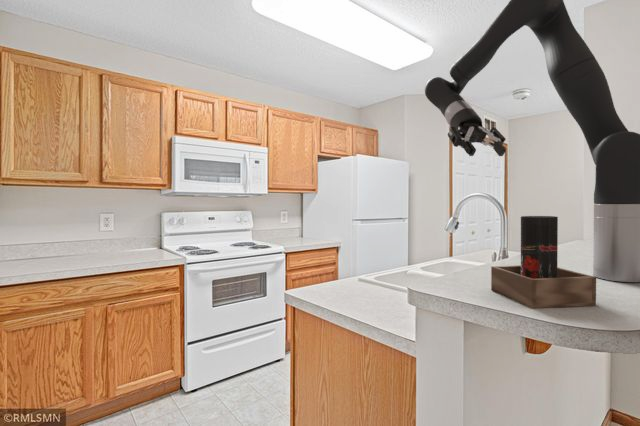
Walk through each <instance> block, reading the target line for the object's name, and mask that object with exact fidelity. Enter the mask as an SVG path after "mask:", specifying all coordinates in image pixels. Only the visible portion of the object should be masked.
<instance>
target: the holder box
mask: <svg viewBox="0 0 640 426" xmlns="http://www.w3.org/2000/svg"><path fill="white" fill-rule="evenodd" d="M490 267H491V271H490V272H491V275H490V276H491V280H490V281H491V286H490V287H491V289H490V290H491V291H492V292H494V293H496V294H498V295H500V296H503V297H506V298H507V299H510V300H512V301H514V302H516V303H518V304H521V305H523V306H525V307H527V308H529V309H549V308H569V306H572V307H590V305H592V306H597V277H595V276H593V275H589V274H585V273H581V272H577V271H573V270H570V269H569V270H568V269H566V268H562V267H558V266H557V278H539V279H532V278H529V277H526V276H523V275H521V264H520V265H502V266H501V265H500V266H499V265H498V266H496V265H495V266H490Z"/></svg>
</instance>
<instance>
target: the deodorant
mask: <svg viewBox="0 0 640 426" xmlns="http://www.w3.org/2000/svg"><path fill="white" fill-rule="evenodd" d="M558 218H559V217H558V216H551V215H521V216H520V265H521V275H523V276H526V277H529V278H532V279H539V278H557V267H558V244H559V243H558V242H559V241H558V235H559V233H558V231H559V229H558V227H559V226H558V224H559V223H558V220H559V219H558Z"/></svg>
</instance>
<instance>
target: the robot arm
mask: <svg viewBox="0 0 640 426" xmlns="http://www.w3.org/2000/svg"><path fill="white" fill-rule="evenodd" d="M524 26H527V27H528V28H529V29H530V30H531V31H532V32H533V34H534V35H535V37H536V38H537V40H538V41H539V43H540V44H541V46H542V48H543V52H544V55H545V56H544V57H545V63H546V69H547V74H548V76H549V79H550V81H551V83H552V85H553V88H554V89H555V91H556V92H557V95H558V96H559V97H560V99H561V101H562V103H563V104H564V106H565V107H566V109H567V110H568V112H569V113H570V115H571V116H572V117H573V119H574V120H575V122H576V123H577V125H578V126H579V128H580V130H581V132H582V134H583V136H584V138H585V141H586V143H587V146H588V149H589V151H590V154H591V157H592V161H593V162H594V165H595V185H594V191H593V192H594V193H593V249H592V250H593V253H592V254H593V255H592V257H593V259H592V260H593V261H592V262H593V263H592V271H593V272H592V276H594V277H596V278H599V279H602V280H607V281H612V282H613V281H615V282H622V283H640V133H638V132H634V131H631V130H630V131H629V130H628V128H627V127H626V125H625V124H624V122H623V121H622V120H621V118H620V116H619V115H618V113H617V110H616V108H615V105H614V100H613V97H612V93H611V90H610V86H609V83H608V79H607V77H606V75H605V73H604V71H603V68H602V67H601V66H600V63H599V62H598V60H597V59H596V57H595V55H594V54H593V52H592V50H591V49H590V47H589V45H588V44H587V43H586V42H585V40H584V39H583V37H582V36H581V34H579V32H578V30H577V29H576V28H575V25H573V22H572V20H571V17H570V14H569V12H568V9H567V7H566V4H565V2H564V0H509V1H508V2H507V4H506V5H505V7H504V8H503V9H502V10H501V12H499V14H498V15H497V17H496V18H495V19H494V20H493V22H492V23H491V24H490V25H489V27H487V29H486V30H485V31H484V32H483V34H482V35H481V36H480V37H479V38H478V39H477V41H475V43H474V44H473V45H472V46H471V47H469V48H468V50H467V51H465V53H463V54H462V55H461V56H460V57H459V58H458V59H457V60H456V61H455V62H454V63H453V64H452V65H451V67H450V68H449V75H450V77H451V79H452V81H448V80H447V79H445V78H443V77H440V76H434V77H431V78H430V79H429V80H428V81H427V82H426V84H425V86H424V94H425V97H426V98H427V99H428V101H429V102H430V103H431V104H432V105H433V106H435V108H437V109H438V110H439V111H440V112H441V114H442V115H443V117H444V118H445V120H446V123H447V124H448V126H449V127H450V128H449V130H448V132H447V136H448V138H449V140H450V142H451V144H452V145H453V147H456V148H457V147H459V146H460V148H461V149H463V150H464V151H465V152H466V154H467V155H469V157H473V156H474V155H475V153H476V152H477V149H476V147H475V146H474V144H472V143H478V144H482V145H483V146H489V147H491V148H493V150H494V151H495V153H496V155H498V157H503V156H504V154H506V152H507V148H506V147H505V146H504V145H503V144H504V143H505V141H506V137H505V136H504V135H503V133H501V132H500V131H499V130H498V129H497V128H496V127H493V126H492V127H491V129H487V128H485V126H483V121H482V118H481V117H480V115H478V114H477V112H476V111H475V110H474V109H473V107H472V106H471V105H470V104H469V103H467V102H466V101H465V99H464V98H463V97H462V96H461V95H460V94H461V93H462V91H463V90H464V89H465V87H466V86H467V85H468V83H469V82H470V81H471V80H472V79H473V78H474V77H476V76H477V75H478V74H479V73H480V72H481V71H482V70H483V69H485V68H486V67H487V66H488V64H489V63H490V62H491V61H492V59H493V58H494V56H495V55H496V53H497V51H498V50H499V49H500V47H501V46H502V45H503V43H505V41H507V40H508V39H509V38H510V37H511V36H513V34H514V33H516V32H517V31H519V30H521V28H523V27H524ZM486 137H488V138H487V139H486ZM491 141H492V142H491Z"/></svg>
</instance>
